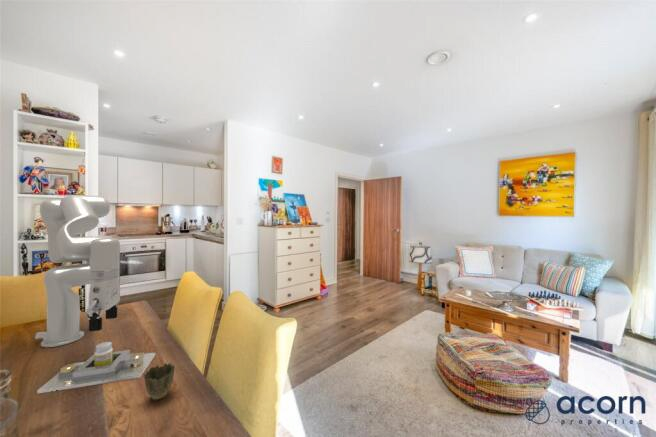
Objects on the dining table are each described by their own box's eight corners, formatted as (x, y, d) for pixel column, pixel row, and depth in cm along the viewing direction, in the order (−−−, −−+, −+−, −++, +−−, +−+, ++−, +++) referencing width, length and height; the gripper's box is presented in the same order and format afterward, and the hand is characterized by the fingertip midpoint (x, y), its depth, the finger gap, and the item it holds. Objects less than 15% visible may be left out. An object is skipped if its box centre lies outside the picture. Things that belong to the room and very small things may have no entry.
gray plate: (37, 393, 74) (37, 379, 74) (69, 366, 87) (69, 354, 87) (140, 377, 82) (140, 364, 82) (155, 355, 95) (155, 344, 95)
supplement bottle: (102, 365, 87) (102, 341, 87) (116, 364, 87) (116, 340, 87) (90, 373, 82) (90, 348, 82) (105, 373, 82) (105, 348, 82)
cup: (141, 410, 68) (141, 381, 68) (146, 393, 75) (146, 366, 75) (173, 401, 72) (173, 373, 72) (175, 385, 78) (175, 360, 78)
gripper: (104, 280, 77) (103, 334, 78) (129, 268, 94) (128, 313, 94) (73, 281, 75) (72, 337, 75) (105, 269, 92) (104, 315, 92)
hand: (103, 324), depth 85 cm, fingers open, 9 cm apart
